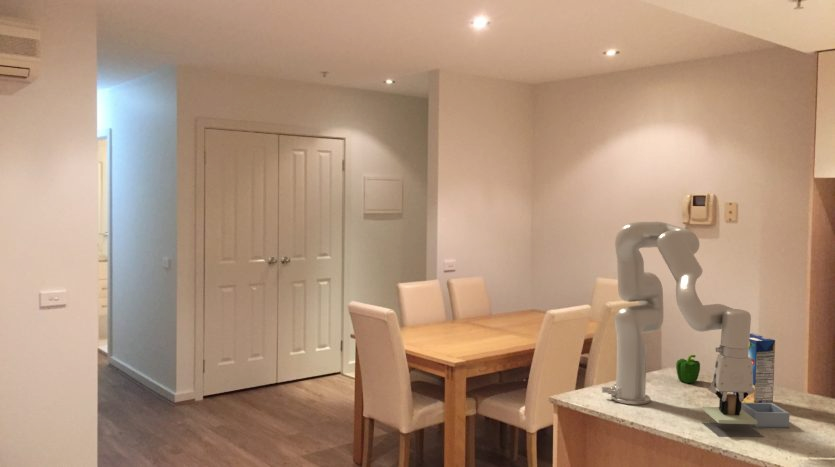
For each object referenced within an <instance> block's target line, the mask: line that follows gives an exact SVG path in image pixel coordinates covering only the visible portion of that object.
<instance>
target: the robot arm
mask: <svg viewBox="0 0 835 467" xmlns="http://www.w3.org/2000/svg"><path fill="white" fill-rule="evenodd" d="M614 240H615V241H614V245H615V246H614V247H615V254H616V259H617V261H616V262H617V264H616V265H617V266H616V267H617V290H618V295H619V297H620V299H621V300H623V301H624V302H626V303H634V302H638V304H635V305H629V306H625V307H622V308H620V309H619V310H618V311H617V312H616V314H615V316H614V328H615V334H616V372H615V375H616V376H615V377H616V378H615V381H616V382H615V383H613V385H612V386H602V387H601V393H603V394H607V395H610V397H611V400H613V401H615V402H617V403H620V404H626V405H635V406H636V405H637V406H638V405H646V404H649V403H650V402H651V397H650V396H649V395H648V394H646V390H647V389H646V388H647V387H646V386H647V344H646V341H645V339H644V336H643V334H649V333H654V332H656V331H658V330H659V329H661V328H662V325H663V323H664V293H663V292H664V291H663V285H662V282H661V280H660V278H659V277H658V276H657V275H656V274H655V273H653V272H647V271H646V272H645V262H644V257H643V255H642V253H641V251H640V249H642V248H643V249H644V248H657V249H658V252H659V253H660V255H661V257H662V258H663V261H664V263H665V264H666V265H667V267H668V270H669V271H670V273H671V274H672V276H673V278H674V280H675V283H676V284H675V298H676V303H677V306H678V309H679V311H680V313H681V315H682V316H683V318H684V320H685V322H686V323H687V324H688V326H689V327H690V328H692V329H693V330H695V331H697V332H701V333H702V332H703V333H704V332H709V331H716V330H721V332H720V344H719V346H718V347H715V352H716V353H719V354H717V355H716V359H715V362H714V368H713V373H712V380H711V383H710V384H709V386H708V388H707V390H708V391H709V392H711V393H712V394H714V395H715V396H716V397H717V398H718V399H719V406H718V407H719V410H720V412H721V413H723V414H724V415H726V414H727V407H728V402H727V401H726V398H727V393H733V392H735V395H736V396H737V398H736V411H735V414H736V415H740V411H741V403H742V402H743V401H744V399H745V398H746V397H747V396H748V395H750V394H752V393H754V392H755V390H754V388H753V370H752V361H751V358H750V357H748V352H749V338H750V334H751V324H752V323H751V322H752V315H751V313H750V311H748V310H744V309H738V308H733V307H730V306H727V305H724V304H721V303H712V304H705V305H703V303H702V302H701V300H700V298H699V296H698V294H697V290H696V282H697V280H698V279H699V278H700V277H701V276H702V275H703V268H702V266H701V265H700V263H699V261H698V260H697V258H696V256H695V254H697V252H698V251H699V249H700V239H699V237H698V236H697V234H696V233H695V232H694V231H691V230H690V229H688V228H683V227H680V226H676V225H674V224H670V223H667V222H663V221H638V222H637V221H636V222H631V223H628V224H626V225H623V226H622V227H621V228H620V229H619V230H618V232H617V233H616V236H615V239H614Z"/></svg>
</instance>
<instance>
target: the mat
mask: <svg viewBox="0 0 835 467" xmlns="http://www.w3.org/2000/svg"><path fill="white" fill-rule="evenodd" d="M702 424H703V426H705V427H707V428H708V429H709V431H711V432H712V433H713V434H715V435H716V436H717V437H719V438H765V435H763V434H761V433H760V432H759V431H757V430H756V429H754V427H752V426H751V425H750V424H725V423H718V422H702Z"/></svg>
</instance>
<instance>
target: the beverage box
mask: <svg viewBox="0 0 835 467" xmlns="http://www.w3.org/2000/svg"><path fill="white" fill-rule="evenodd" d="M775 351H776V340H775V339H772V338H768V337H766V336H762V335H759V334H757V333H750V338H749V352H748V357H750V358H751V361H752V370H753V388H754V390H755V392H754V393H752V394H750V395H748V396H747V397H746V398H745V399H744V401H743V402H742V403H773V404H774V386H775V385H774V382H775V380H774V379H775V358H776V357H775V354H776V352H775ZM732 394H735V392H732Z"/></svg>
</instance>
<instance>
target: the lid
mask: <svg viewBox="0 0 835 467" xmlns="http://www.w3.org/2000/svg"><path fill="white" fill-rule="evenodd" d="M736 398H737V396H736V395H735V394H733V393H731V392H727V398H726V401H727V402H728V407H727V414H726V415H724V414H723V413H721V412H720V410H719V406H703V407H702V408H703V410H702V411H703V412H705V413H706V414H707V415H708V416H709V417H711V418H712V419H713V420H714V421H715V423H725V424H747V425H750V424H757V420H755V419H754V418H753V417H751V416H750V415H749V414H747V413H746V412H745V411H743V410H742V409H741V411H740V415H736V414H735V411H736Z"/></svg>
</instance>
